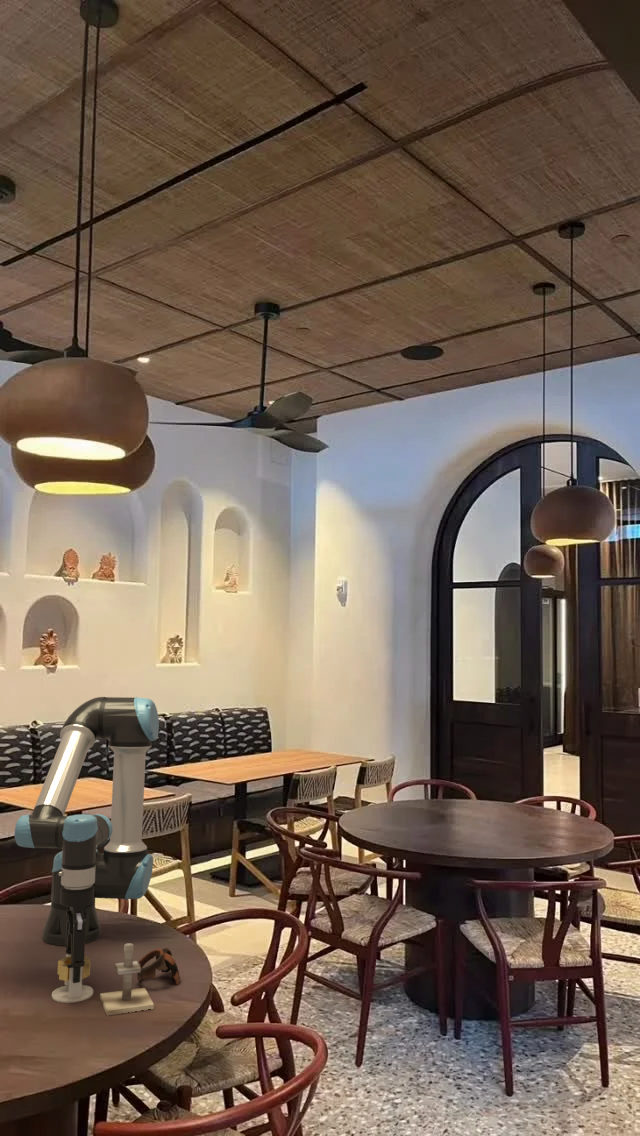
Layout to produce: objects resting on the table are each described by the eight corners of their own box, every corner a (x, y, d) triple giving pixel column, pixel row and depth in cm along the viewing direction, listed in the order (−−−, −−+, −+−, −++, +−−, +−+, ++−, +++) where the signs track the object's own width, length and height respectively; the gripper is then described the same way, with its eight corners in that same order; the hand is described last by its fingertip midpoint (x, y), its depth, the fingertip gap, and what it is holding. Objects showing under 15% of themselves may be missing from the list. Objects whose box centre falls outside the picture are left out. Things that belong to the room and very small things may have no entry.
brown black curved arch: (179, 992, 198) (162, 962, 196) (143, 1008, 198) (126, 978, 197) (189, 960, 209) (173, 932, 208) (155, 975, 210) (139, 947, 209)
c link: (87, 967, 198) (87, 954, 199) (91, 978, 192) (91, 964, 192) (56, 971, 196) (57, 957, 196) (59, 982, 189) (60, 968, 190)
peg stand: (99, 998, 192) (102, 940, 193) (144, 992, 196) (146, 935, 197) (106, 1015, 183) (109, 954, 184) (153, 1009, 186) (155, 949, 188)
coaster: (49, 990, 196) (50, 987, 196) (90, 985, 199) (90, 982, 199) (53, 1005, 188) (53, 1002, 188) (95, 999, 191) (95, 996, 191)
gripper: (56, 876, 204) (51, 976, 201) (65, 898, 185) (60, 1009, 183) (88, 873, 206) (84, 972, 204) (100, 895, 188) (96, 1004, 186)
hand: (72, 989), depth 193 cm, fingers closed on c link, 7 cm apart
